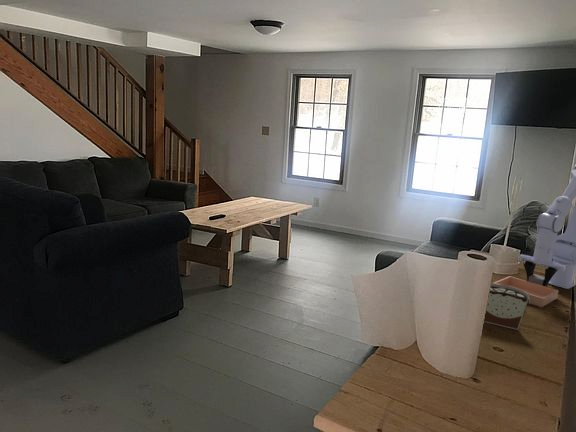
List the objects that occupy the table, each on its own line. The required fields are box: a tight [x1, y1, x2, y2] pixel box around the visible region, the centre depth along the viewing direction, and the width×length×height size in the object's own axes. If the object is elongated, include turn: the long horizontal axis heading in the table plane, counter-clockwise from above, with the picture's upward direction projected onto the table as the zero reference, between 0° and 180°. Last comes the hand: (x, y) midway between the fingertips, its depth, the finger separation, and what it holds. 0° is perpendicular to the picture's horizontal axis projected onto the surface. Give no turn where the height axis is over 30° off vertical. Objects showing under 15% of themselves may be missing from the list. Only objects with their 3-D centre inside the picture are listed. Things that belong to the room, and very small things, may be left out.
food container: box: [483, 283, 531, 331], centre depth 132 cm, size 12×6×10 cm, turn 65°
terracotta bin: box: [492, 275, 559, 308], centre depth 157 cm, size 14×16×3 cm
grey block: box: [528, 273, 545, 286], centre depth 165 cm, size 4×4×4 cm
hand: (536, 285), depth 165 cm, fingers closed on grey block, 4 cm apart
